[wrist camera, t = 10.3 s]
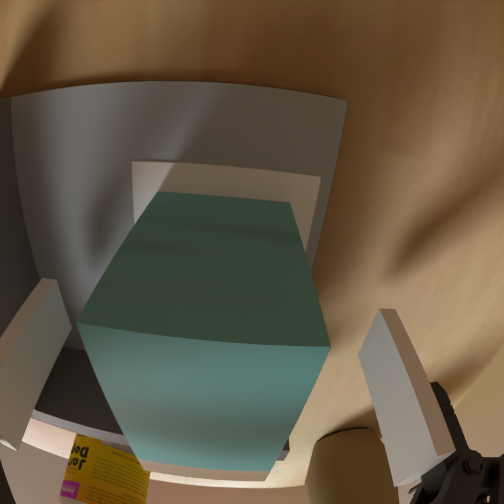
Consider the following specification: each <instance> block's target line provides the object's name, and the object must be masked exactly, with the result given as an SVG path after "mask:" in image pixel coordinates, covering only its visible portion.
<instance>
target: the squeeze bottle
mask: <svg viewBox="0 0 504 504" xmlns="http://www.w3.org/2000/svg"><path fill="white" fill-rule="evenodd" d="M305 486H306V490H307V495H308V499H309V504H399V497H398V486H396V487H394V483H393V479H392V475H391V470H390V466H389V462H388V458H387V454H386V450H385V446H384V444H383V443H382V441H381V440H380V438H379V437H378V436H377V434H376V433H375V431H373V430H370V429H352V430H346V431H342V432H339V433H335V434H332V435H330V436H327V437H325V438H323V439H321V440H320V441H318V442H317V443H316V444H315V445H314V448H313V452H312V456H311V460H310V464H309V468H308V472H307V476H306V480H305Z"/></svg>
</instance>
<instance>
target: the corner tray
mask: <svg viewBox="0 0 504 504" xmlns="http://www.w3.org/2000/svg"><path fill="white" fill-rule="evenodd" d="M347 104H348V101H347V100H342V99H338V98H333V97H328V96H322V95H317V94H311V93H306V92H299V91H293V90H286V89H279V88H271V87H263V86H254V85H244V84H232V83H218V82H198V81H137V82H117V83H103V84H92V85H83V86H74V87H66V88H59V89H52V90H46V91H40V92H35V93H29V94H24V95H19V96H14V97H10V98H5V99H1V100H0V338H1V336H2V335H3V333H4V332H5V330H6V329H7V327H8V326H9V324H10V322H11V321H12V320H13V318H14V317H15V315H16V314H17V312H18V311H19V309H20V308H21V306H22V305H23V304H24V302H25V301H26V299H27V298H28V297H29V295H30V294H31V293H32V291H33V290H34V288H35V287H36V286H37V284H38V283H39V282H40V281H41V279H42V278H48V279H54V280H57V283H58V286H59V290H60V293H61V296H62V300H63V303H64V306H65V309H66V312H67V315H68V318H69V321H70V324H71V327H72V329H71V331H70V333H69V335H68V337H67V339H66V341H65V342H64V344H63V346H62V348H61V350H60V352H59V354H58V357H57V359H56V361H55V363H54V365H53V367H52V369H51V371H50V373H49V376H48V378H47V380H46V382H45V384H44V387H43V389H42V391H41V393H40V396H39V398H38V400H37V403H36V405H35V408H34V410H33V412H32V415H31V418H33V419H36V420H39V421H41V422H44V423H47V424H50V425H53V426H56V427H59V428H62V429H65V430H68V431H71V432H74V433H78V434H81V435H85V436H88V437H92V438H96V439H100V440H104V441H108V442H112V443H116V444H121V445H125V446H130V445H129V443H128V441H127V439H126V437H125V436H124V434H123V432H122V430H121V428H120V426H119V424H118V422H117V420H116V418H115V416H114V414H113V412H112V410H111V408H110V406H109V404H108V401H107V399H106V397H105V395H104V393H103V390H102V388H101V386H100V384H99V381H98V379H97V377H96V374H95V372H94V369H93V367H92V365H91V362H90V359H89V357H88V354H87V352H86V349H85V346H84V344H83V341H82V338H81V335H80V333H79V330H78V327H77V324H76V321H77V319H78V317H79V315H80V313H81V312H82V310H83V308H84V306H85V304H86V303H87V301H88V299H89V297H90V296H91V294H92V292H93V290H94V289H95V287H96V285H97V283H98V282H99V280H100V278H101V277H102V275H103V273H104V272H105V270H106V268H107V267H108V265H109V263H110V262H111V260H112V259H113V257H114V255H115V254H116V252H117V251H118V249H119V247H120V246H121V244H122V243H123V241H124V240H125V238H126V237H127V235H128V234H129V232H130V230H131V229H132V227H133V226H134V224H135V223H136V221H137V220H138V219H139V217H140V216H141V214H142V213H143V211H144V210H145V208H146V207H147V205H148V204H149V203H150V201H151V200H152V198H153V197H154V195H155V194H156V193H157V191H160V192H176V193H190V194H203V195H216V196H228V197H239V198H249V199H260V200H269V201H279V202H288V203H290V204H291V207H292V211H293V214H294V217H295V220H296V224H297V227H298V230H299V233H300V237H301V240H302V244H303V247H304V250H305V254H306V257H307V261H308V264H309V268H310V271H311V272H312V268H313V264H314V260H315V256H316V252H317V248H318V244H319V240H320V236H321V232H322V227H323V223H324V219H325V215H326V210H327V206H328V201H329V197H330V192H331V187H332V183H333V178H334V173H335V168H336V163H337V158H338V153H339V148H340V143H341V138H342V132H343V127H344V121H345V116H346V110H347ZM289 451H290V448H289V438H288V440H287V442H286V443H285V445H284V447H283V449H282V451H281V453H280V455H279V457H278V458H277V460H284V459H285V458H286V456H287V454H288V453H289Z"/></svg>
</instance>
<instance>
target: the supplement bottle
mask: <svg viewBox="0 0 504 504" xmlns="http://www.w3.org/2000/svg"><path fill="white" fill-rule="evenodd" d="M149 477H150V471H146V470H144V469H143V467H142V466H141V464H140V462H139V461H138V459H137V457H136V455H135V454H134V452H133V450H132V448H131V447H130V446H125V445H121V444H116V443H112V442H108V441H104V440H100V439H96V438H92V437H88V436H85V435H81V434H78V433H77V434H76V437H75V440H74V443H73V447H72V450H71V454H70V458H69V461H68V465H67V469H66V472H65V476H64V480H63V484H62V488H61V492H60V496H59V501H58V504H146V497H147V490H148V483H149Z"/></svg>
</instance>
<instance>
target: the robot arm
mask: <svg viewBox="0 0 504 504" xmlns="http://www.w3.org/2000/svg"><path fill="white" fill-rule="evenodd" d="M71 329H72V327H71V324H70V321H69V318H68V315H67V312H66V309H65V306H64V303H63V300H62V296H61V293H60V290H59V286H58V283H57V280H54V279H48V278H42V279H41V281H40V282H39V283H38V284H37V286H36V287H35V288H34V290H33V291H32V293H31V294H30V295H29V297H28V298H27V299H26V301H25V302H24V304H23V305H22V306H21V308H20V309H19V311H18V312H17V314H16V315H15V317H14V318H13V320H12V321H11V322H10V324H9V326H8V327H7V329H6V330H5V332H4V333H3V335H2V336H1V338H0V442H1V443H2V444H3V445H6V446H8V447H10V448H12V449H14V450H16V451H18V449H19V447H20V444H21V441H22V438H23V436H24V433H25V430H26V428H27V425H28V422H29V420H30V417H31V415H32V412H33V410H34V408H35V405H36V403H37V400H38V398H39V396H40V393H41V391H42V389H43V387H44V384H45V382H46V380H47V378H48V376H49V373H50V371H51V369H52V367H53V365H54V363H55V361H56V359H57V357H58V354H59V352H60V350H61V348H62V346H63V344H64V342H65V341H66V339H67V337H68V335H69V333H70V331H71ZM358 355H359V358H360V362H361V365H362V368H363V371H364V375H365V378H366V381H367V385H368V388H369V391H370V395H371V398H372V402H373V405H374V409H375V412H376V416H377V419H378V423H379V427H380V431H381V434H382V438H383V442H384V446H385V450H386V454H387V458H388V462H389V466H390V470H391V475H392V479H393V483H394V487H396V486H400V485H403V484H407V483H411V482H413V481H415V480H416V479H418V478H419V477H421V479H422V482H421V483H419V484H418V485H416V486H415V487H413V488H411V489H410V491H409V492H408V493H409V494H411V493H412V492H414V491H416V492H415V494H414V495H413V498H412V500H411V502H410V504H504V454H503V455H501V456H500V457H482V456H481V454H480V453H478V452H477V451H474V450H470V449H469V447H468V445H467V443H466V440H465V437H464V434H463V432H462V429H461V427H460V424H459V422H458V419H457V417H456V414H454V409H453V407H452V405H450V403H451V402H450V400H449V397H448V395H447V393H446V391H445V390H444V389H443V388H442V386H441V385H440V384H439V383H438V382H432V383H429V380H428V378H427V376H426V373H425V371H424V369H423V367H422V364H421V362H420V360H419V358H418V355H417V353H416V351H415V349H414V347H413V345H412V343H411V340H410V338H409V336H408V334H407V332H406V330H405V328H404V326H403V324H402V322H401V320H400V318H399V316H398V314H397V312H396V310H395V309H379V311H378V313H377V315H376V317H375V319H374V322H373V324H372V326H371V328H370V330H369V332H368V334H367V336H366V338H365V340H364V343H363V345H362V347H361V349H360V351H359V353H358ZM488 496H490V500H489V502H487V497H488ZM0 504H16V503H15V500H14V498H13V495H12V493H11V490H10V487H9V485H8V482H7V479H6V476H5V473H4V470H3V467H2V464H1V461H0Z"/></svg>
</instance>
